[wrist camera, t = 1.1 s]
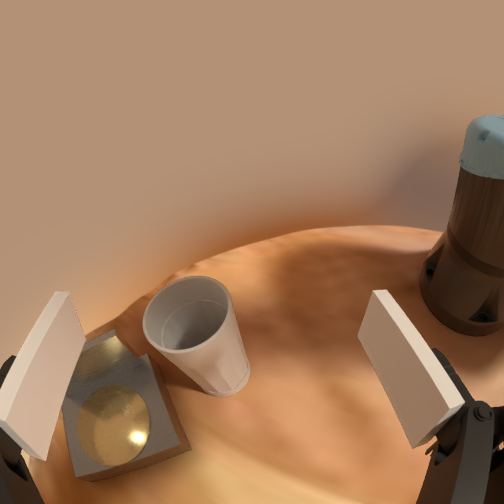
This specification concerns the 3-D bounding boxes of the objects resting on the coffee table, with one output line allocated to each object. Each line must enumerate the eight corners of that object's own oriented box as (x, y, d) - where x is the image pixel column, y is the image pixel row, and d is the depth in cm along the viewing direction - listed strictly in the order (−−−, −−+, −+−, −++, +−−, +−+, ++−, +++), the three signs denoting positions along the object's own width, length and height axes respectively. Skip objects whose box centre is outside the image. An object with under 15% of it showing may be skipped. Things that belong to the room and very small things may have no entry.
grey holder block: (158, 364, 34) (121, 324, 28) (191, 449, 25) (151, 428, 19) (72, 402, 30) (27, 370, 24) (89, 482, 22) (34, 465, 16)
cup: (192, 408, 29) (139, 360, 21) (188, 349, 35) (145, 286, 27) (263, 395, 29) (237, 341, 21) (251, 336, 35) (226, 266, 27)
